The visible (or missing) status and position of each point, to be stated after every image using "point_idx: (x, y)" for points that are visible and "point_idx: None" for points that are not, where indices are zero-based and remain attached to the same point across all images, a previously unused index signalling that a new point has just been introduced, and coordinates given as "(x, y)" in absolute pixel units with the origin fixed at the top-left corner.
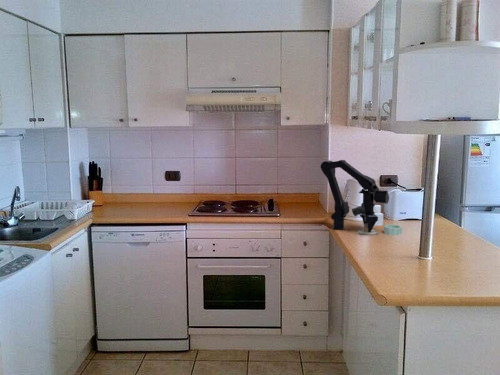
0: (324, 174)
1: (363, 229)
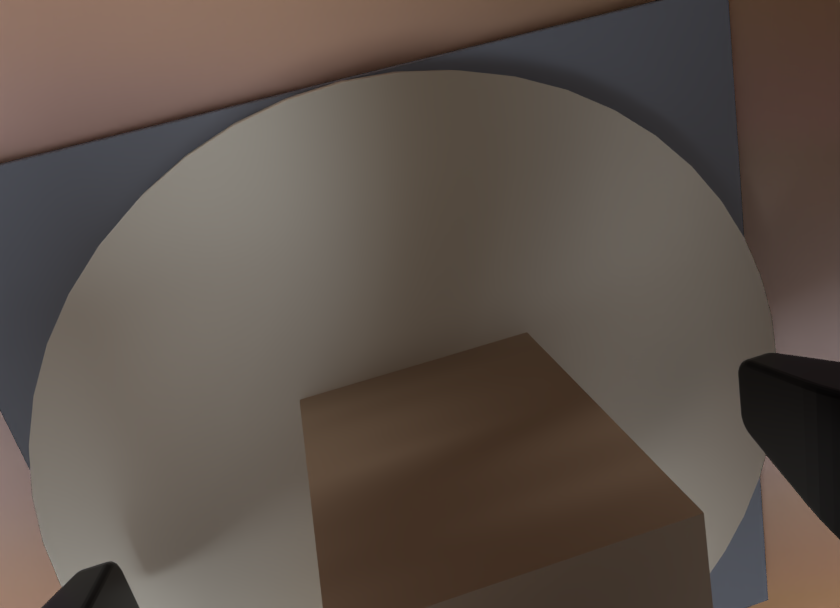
0: None
1: (695, 300)
